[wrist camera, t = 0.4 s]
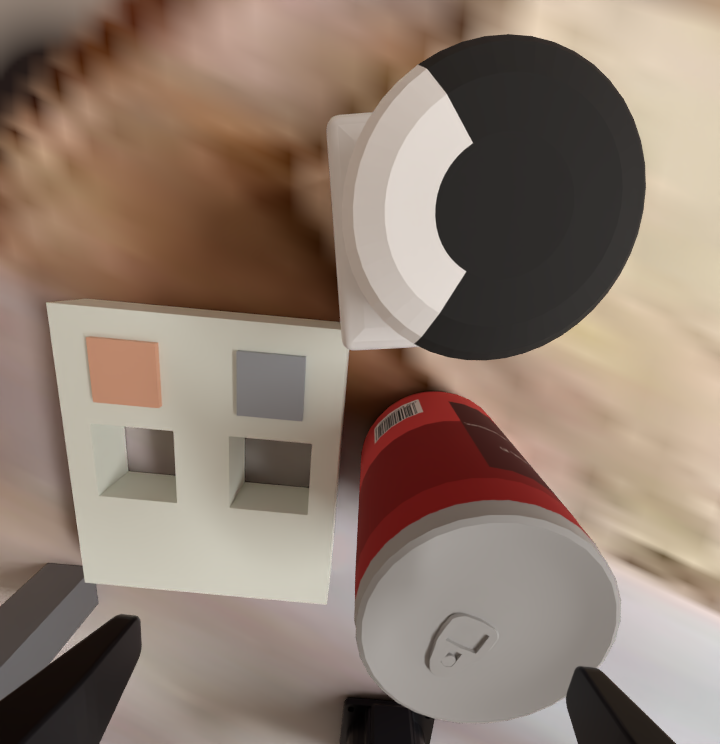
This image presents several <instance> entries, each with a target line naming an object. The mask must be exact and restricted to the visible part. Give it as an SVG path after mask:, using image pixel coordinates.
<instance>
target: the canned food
mask: <svg viewBox="0 0 720 744" xmlns="http://www.w3.org/2000/svg"><path fill="white" fill-rule="evenodd" d="M620 618H621V598H620V594H619V590H618V585H617V581H616V578H615V576H614V575H613V573H612V571H611V569H610V567H609V566H608V564H607V562H606V560H605V559H604V558H603V556H602V555H601V553H600V552H599V550H598V548H597V546H596V544H595V543H594V542H593V541H592V539H591V538H590V537H589V536H588V535H587V533H586V532H585V531H584V530H583V529H582V527H581V526H580V525H579V523H578V522H577V521H576V519H575V518H574V517H573V515H572V514H571V513H570V512H569V511H568V510H567V508H566V507H565V506H564V505H563V504H562V502H561V501H560V500H559V499H558V498H557V496H556V495H555V494H554V493H553V492H552V491H551V489H550V488H549V487H548V486H547V485H546V483H545V482H544V481H543V480H542V479H541V478H540V476H539V475H538V474H537V473H536V472H535V470H534V469H533V468H532V467H531V466H530V465H529V463H528V462H527V461H526V460H525V459H524V457H523V456H522V455H521V454H520V453H519V451H518V450H517V449H516V448H515V447H514V446H513V444H512V443H511V442H510V441H509V440H508V438H507V437H506V436H505V435H504V434H503V433H502V431H501V430H500V429H499V428H498V427H497V425H496V424H495V423H494V422H493V421H492V419H491V418H490V417H489V416H488V415H487V414H486V413H485V412H484V411H483V410H482V408H481V407H479V406H478V405H476V404H475V403H473V402H472V401H470V400H469V399H466V398H464V397H461V396H459V395H456V394H451V393H446V392H440V391H428V392H421V393H416V394H412V395H410V396H407V397H405V398H402V399H400V400H399V401H397V402H396V403H394V404H392V405H391V406H390V407H388V408H387V409H386V410H385V411H384V412H383V413H382V414H381V415H380V416H379V417H378V418H377V420H376V421H375V422H374V424H373V425H372V427H371V428H370V430H369V432H368V434H367V436H366V438H365V440H364V444H363V449H362V453H361V472H360V492H359V512H358V532H357V553H356V573H355V618H354V621H355V626H356V641H357V645H358V650H359V655H360V658H361V660H362V662H363V664H364V666H365V668H366V670H367V672H368V674H369V675H370V677H371V678H372V679H373V680H374V682H375V683H376V684H377V685H378V686H379V688H380V689H381V690H382V691H383V692H385V693H386V694H387V695H388V696H390V697H391V698H392V699H393V700H395V701H396V702H397V703H399V704H401V705H403V706H405V707H407V708H408V709H410V710H412V711H414V712H416V713H419V714H422V715H425V716H428V717H431V718H434V719H437V720H443V721H449V722H455V723H473V724H485V723H493V722H501V721H508V720H512V719H515V718H519V717H523V716H527V715H530V714H533V713H535V712H537V711H540V710H542V709H545V708H547V707H549V706H552V705H553V704H555V703H557V702H558V701H560V700H562V699H563V698H565V697H566V694H567V690H568V687H569V684H570V681H571V679H572V676H573V673H574V670H575V668H576V667H578V666H586V667H594V668H597V669H598V668H599V666H600V665H601V664H602V663H603V662H604V660H605V658H606V657H607V655H608V653H609V651H610V649H611V647H612V645H613V643H614V642H615V638H616V635H617V631H618V628H619V624H620Z"/></svg>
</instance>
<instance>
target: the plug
mask: <svg viewBox="0 0 720 744" xmlns="http://www.w3.org/2000/svg"><path fill="white" fill-rule="evenodd" d="M97 605H98V597H97V590H96V584H95V583H85V579H84V572H83V566H74V565H63V564H52V563H48V564H46V565H45V566H44V567H43V568H42V569H41V570H40V571H39V572H38V573H37V574H35V575H34V576H33V577H32V578H31V579H30V580H29V581H28V582H27V583H26V584H24V585H23V586H22V587H21V588H20V589H19V590H18V591H17V592H16V593H15V594H13V595H12V596H11V597H10V598H9V599H8V600H7V601H6V602H5V603H4V604H2V605H1V606H0V700H1V699H3V698H4V697H6V696H7V695H8V694H10V693H11V692H12V691H14V690H15V689H16V688H18V687H19V686H21V685H22V684H23V683H25V682H26V681H27V680H29V679H30V678H31V677H33V676H34V675H36V674H37V673H38V672H40V671H41V670H42V669H44V668H45V667H46V666H48V665H49V663H50V662H51V661H52V660H53V659H54V657H55V656H56V655H57V654H58V652H59V651H60V650H61V649H62V648H63V646H64V645H65V644H66V643H67V641H68V640H69V639H70V638H71V636H72V635H73V634H74V633H75V632H76V630H77V629H78V628H79V627H80V625H81V624H82V623H83V622H84V620H85V619H86V618H87V617H88V616H89V614H90V613H91V612H92V611H93V609H94V608H95V607H96V606H97Z"/></svg>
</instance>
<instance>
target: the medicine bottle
mask: <svg viewBox="0 0 720 744" xmlns="http://www.w3.org/2000/svg"><path fill="white" fill-rule="evenodd" d="M326 132H327V146H328V160H329V173H330V187H331V200H332V214H333V228H334V241H335V255H336V269H337V282H338V296H339V309H340V323H341V337H342V342H343V345H344V346H345V347H346V348H347V349H349V350H370V349H389V348H408V347H421V348H424V349H426V350H428V351H430V352H433V353H437V354H440V355H443V356H447V357H451V358H458V359H464V360H492V359H501V358H507V357H511V356H515V355H519V354H523V353H526V352H528V351H531V350H533V349H536V348H538V347H541V346H543V345H545V344H547V343H549V342H551V341H552V340H554V339H556V338H558V337H560V336H561V335H563V334H564V333H566V332H567V331H568V330H570V329H571V328H572V327H574V326H575V325H577V324H578V323H579V322H580V321H581V320H582V319H583V318H585V317H586V316H587V315H588V314H589V313H590V312H591V311H592V310H593V309H594V308H595V307H596V306H597V305H598V303H599V302H600V301H601V300H602V299H603V298H604V296H605V295H606V294H607V293H608V292H609V290H610V289H611V287H612V286H613V284H614V283H615V281H616V280H617V278H618V277H619V275H620V273H621V272H622V270H623V268H624V266H625V264H626V262H627V260H628V258H629V256H630V254H631V251H632V248H633V246H634V243H635V240H636V237H637V235H638V231H639V227H640V223H641V219H642V214H643V209H644V200H645V190H646V181H645V162H644V156H643V150H642V144H641V140H640V137H639V134H638V131H637V128H636V124H635V121H634V119H633V117H632V115H631V113H630V111H629V109H628V107H627V105H626V103H625V101H624V99H623V98H622V96H621V95H620V94H619V92H618V91H617V89H616V88H615V87H614V85H613V84H612V83H611V81H610V80H609V79H608V78H607V77H606V76H605V75H604V74H603V73H602V72H601V71H600V70H599V69H598V68H597V67H596V66H595V65H594V64H592V63H591V62H589V61H588V60H586V59H585V58H583V57H582V56H581V55H579V54H578V53H576V52H575V51H572V50H570V49H568V48H566V47H564V46H562V45H559V44H557V43H555V42H552V41H548V40H544V39H540V38H536V37H533V36H522V35H510V34H507V35H495V36H484V37H480V38H476V39H472V40H468V41H464V42H461V43H458V44H456V45H454V46H451V47H449V48H447V49H444V50H442V51H440V52H438V53H436V54H435V55H433V56H431V57H430V58H428V59H426V60H425V61H423V62H421V63H420V64H418V65H417V66H416V67H415V68H413V69H412V70H411V71H410V72H409V73H407V74H406V75H405V76H404V77H402V78H401V79H400V80H399V81H398V82H397V83H396V84H395V85H394V86H393V87H392V89H391V90H390V91H389V92H388V93H387V94H386V95H385V96H384V97H383V98H382V100H381V101H380V103H379V104H378V106H377V107H376V108H375V110H374V111H373V112H370V113H357V114H345V115H336V116H334V117H332V118H331V119H330V121H329V122H328V124H327V130H326Z"/></svg>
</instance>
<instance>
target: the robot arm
mask: <svg viewBox="0 0 720 744" xmlns="http://www.w3.org/2000/svg"><path fill="white" fill-rule="evenodd" d="M141 645H142V644H141V624H140V619H139V617H138V616H134V615H125V614H120V615H117V616H115V617H113V618H112V619H111V620H109V621H108V622H107V623H105V624H104V625H102V626H101V627H100V628H98V629H97V630H96V631H94V632H93V633H92V634H90V635H89V636H87V637H86V638H85V639H83V640H82V641H81V642H79V643H78V644H76V645H75V646H74V647H72V648H71V649H70V650H68V651H67V652H66V653H64V654H63V655H61V656H60V657H59V658H57V659H56V660H55V661H53V662H52V663H51V664H49V665H48V666H46V667H45V668H44V669H42V670H41V671H40V672H38V673H37V674H36V675H34V676H33V677H31V678H30V679H29V680H27V681H26V682H25V683H23V684H22V685H21V686H19V687H18V688H16V689H15V690H14V691H12V692H11V693H10V694H8V695H7V696H6V697H4V698H3V699H1V700H0V744H99V743H100V741H101V739H102V737H103V734H104V732H105V730H106V728H107V726H108V724H109V722H110V719H111V717H112V715H113V713H114V711H115V709H116V706H117V704H118V702H119V700H120V698H121V696H122V694H123V691H124V689H125V687H126V685H127V683H128V681H129V678H130V676H131V674H132V672H133V670H134V668H135V666H136V663H137V661H138V659H139V656H140V652H141ZM566 704H567V709H568V712H569V716H570V719H571V722H572V725H573V729H574V732H575V735H576V738H577V742H578V744H676V743H675V742H674V741H673V740H672V739H671V738H670V737H669V736H668V735H667V734H666V733H665V732H664V731H663V730H662V729H661V728H660V727H659V726H657V725H656V724H655V723H654V722H653V721H652V720H651V719H650V718H649V717H648V716H647V715H646V714H645V713H644V712H643V711H642V710H641V709H640V708H639V707H638V706H637V705H636V704H635V703H634V702H633V701H632V700H631V699H630V698H629V697H628V696H627V695H626V694H625V693H624V692H623V691H622V690H621V689H620V688H618V687H617V686H616V685H615V684H614V683H613V682H612V681H611V680H610V679H609V678H608V677H607V676H606V675H605V674H604V673H603V672H602V671H600V670H599V669H597V668H594V667H586V666H578V667H576V668H575V670H574V673H573V676H572V679H571V681H570V684H569V687H568V690H567V694H566ZM433 724H434V718H431V717H428V716H425V715H422V714H419V713H416V712H414V711H412V710H410V709H408V708H407V707H405V706H403V705H401V704H399V703H397V702H393V701H382V700H371V699H360V698H347V699H346V700H345V701H344V709H343V718H342V728H341V737H340V744H430V739H431V734H432V729H433Z"/></svg>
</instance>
